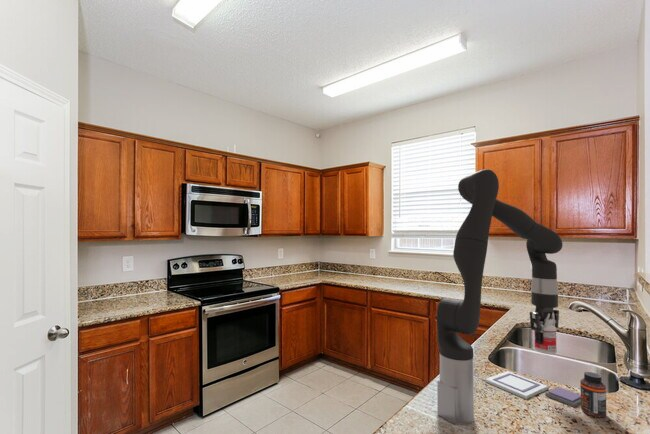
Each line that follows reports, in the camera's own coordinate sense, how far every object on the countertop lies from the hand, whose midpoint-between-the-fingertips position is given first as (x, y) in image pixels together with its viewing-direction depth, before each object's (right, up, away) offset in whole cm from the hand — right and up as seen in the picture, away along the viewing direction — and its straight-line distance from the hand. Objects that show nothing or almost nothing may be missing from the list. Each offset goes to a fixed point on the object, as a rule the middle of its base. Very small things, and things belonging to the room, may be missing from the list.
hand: (545, 341), depth 109 cm
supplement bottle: (+6, -17, -12) cm, 22 cm away
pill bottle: (0, -3, 0) cm, 3 cm away
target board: (-7, -17, +5) cm, 19 cm away
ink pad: (+4, -17, -4) cm, 18 cm away
